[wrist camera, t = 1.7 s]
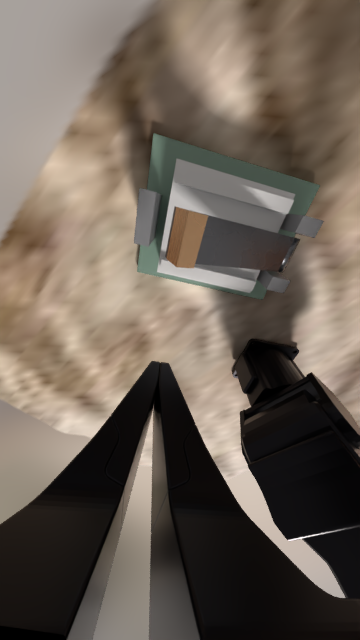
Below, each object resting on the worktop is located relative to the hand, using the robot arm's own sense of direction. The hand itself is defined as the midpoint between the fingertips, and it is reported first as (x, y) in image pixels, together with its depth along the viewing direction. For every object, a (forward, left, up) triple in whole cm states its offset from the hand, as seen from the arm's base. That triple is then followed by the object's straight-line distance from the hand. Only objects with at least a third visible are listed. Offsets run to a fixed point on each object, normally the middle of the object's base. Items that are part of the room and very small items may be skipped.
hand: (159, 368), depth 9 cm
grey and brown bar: (-4, -5, -6) cm, 9 cm away
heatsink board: (-3, -5, -12) cm, 14 cm away
